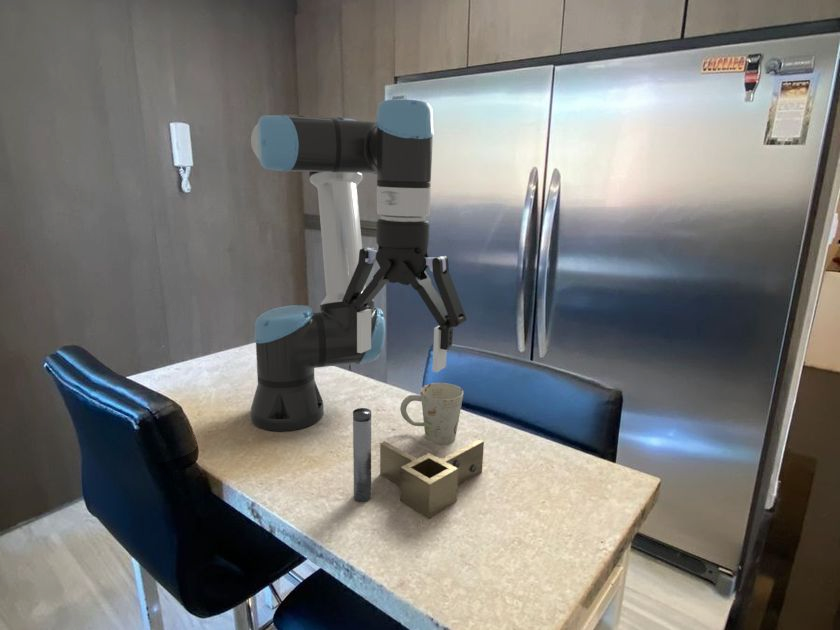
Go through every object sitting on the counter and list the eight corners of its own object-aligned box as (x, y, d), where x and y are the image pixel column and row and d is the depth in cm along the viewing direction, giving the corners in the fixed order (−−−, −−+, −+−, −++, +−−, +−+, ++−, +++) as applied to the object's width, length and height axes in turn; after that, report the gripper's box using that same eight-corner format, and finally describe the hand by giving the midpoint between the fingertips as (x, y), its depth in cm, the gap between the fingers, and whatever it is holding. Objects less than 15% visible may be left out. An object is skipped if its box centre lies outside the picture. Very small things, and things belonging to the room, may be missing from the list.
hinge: (368, 480, 88) (368, 448, 87) (434, 447, 100) (435, 418, 98) (428, 519, 79) (429, 484, 77) (494, 478, 90) (496, 446, 88)
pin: (350, 497, 84) (349, 411, 80) (363, 490, 86) (363, 406, 82) (361, 504, 82) (360, 417, 78) (374, 497, 84) (374, 412, 80)
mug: (458, 449, 99) (460, 401, 97) (394, 441, 101) (395, 394, 99) (463, 430, 107) (465, 384, 104) (404, 423, 109) (405, 378, 107)
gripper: (317, 213, 76) (321, 350, 82) (471, 227, 64) (462, 386, 70) (349, 211, 82) (350, 338, 88) (495, 223, 70) (485, 369, 76)
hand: (400, 359), depth 79 cm, fingers open, 13 cm apart
